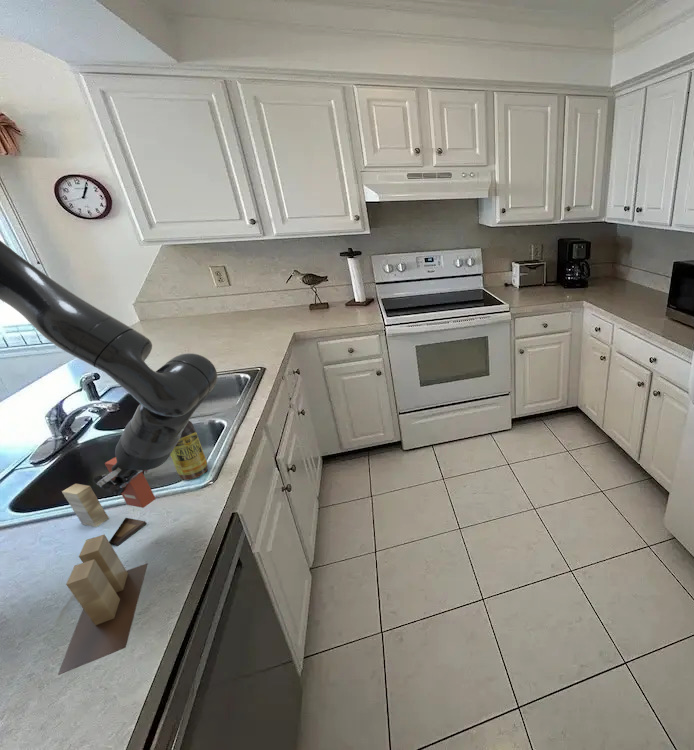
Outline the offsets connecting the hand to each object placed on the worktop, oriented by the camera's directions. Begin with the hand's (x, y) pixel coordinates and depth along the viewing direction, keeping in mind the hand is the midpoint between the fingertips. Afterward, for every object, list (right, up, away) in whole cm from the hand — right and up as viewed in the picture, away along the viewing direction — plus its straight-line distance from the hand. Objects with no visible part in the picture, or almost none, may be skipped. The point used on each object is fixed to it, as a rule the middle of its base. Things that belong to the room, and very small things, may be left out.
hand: (124, 484), depth 78 cm
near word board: (+5, -20, -9) cm, 22 cm away
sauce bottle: (-5, -4, +25) cm, 26 cm away
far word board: (-11, -12, +9) cm, 18 cm away
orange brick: (+2, -4, +1) cm, 4 cm away
